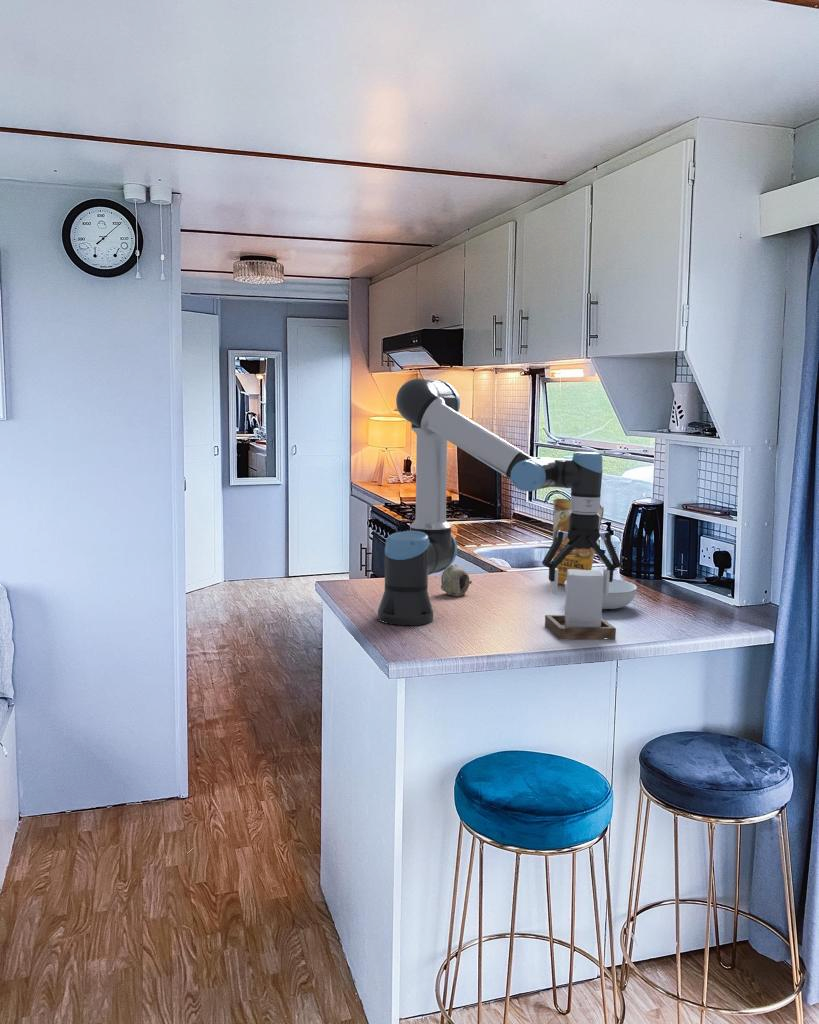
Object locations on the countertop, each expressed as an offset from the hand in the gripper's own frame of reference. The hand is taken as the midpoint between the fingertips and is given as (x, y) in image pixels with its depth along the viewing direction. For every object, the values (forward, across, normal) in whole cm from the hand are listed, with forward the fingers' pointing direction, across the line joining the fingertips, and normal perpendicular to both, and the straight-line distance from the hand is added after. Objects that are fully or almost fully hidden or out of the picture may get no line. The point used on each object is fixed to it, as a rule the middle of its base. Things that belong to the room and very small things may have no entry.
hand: (579, 593), depth 224 cm
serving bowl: (+10, +15, +28) cm, 34 cm away
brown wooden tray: (+10, 0, 0) cm, 10 cm away
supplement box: (+9, +1, 0) cm, 9 cm away
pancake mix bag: (+11, +16, +59) cm, 62 cm away
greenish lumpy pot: (+11, -25, +45) cm, 53 cm away
